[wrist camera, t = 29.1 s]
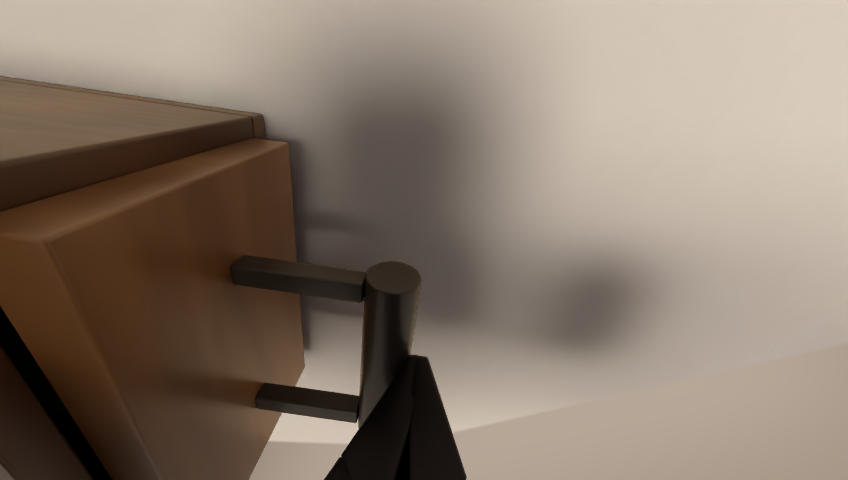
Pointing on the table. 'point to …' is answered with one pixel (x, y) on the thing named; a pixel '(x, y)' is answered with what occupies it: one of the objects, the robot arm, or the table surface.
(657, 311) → the table surface
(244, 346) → the drawer
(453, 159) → the table surface
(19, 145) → the cabinet
